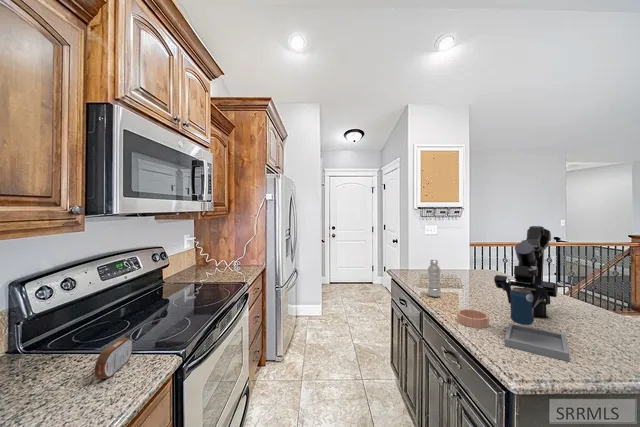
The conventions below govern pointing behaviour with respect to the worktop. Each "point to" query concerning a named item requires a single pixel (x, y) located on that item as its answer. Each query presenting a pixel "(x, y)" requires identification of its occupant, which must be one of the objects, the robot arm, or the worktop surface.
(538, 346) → the tray
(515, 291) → the soda can
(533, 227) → the robot arm
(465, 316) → the ring holder
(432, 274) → the plastic bottle
